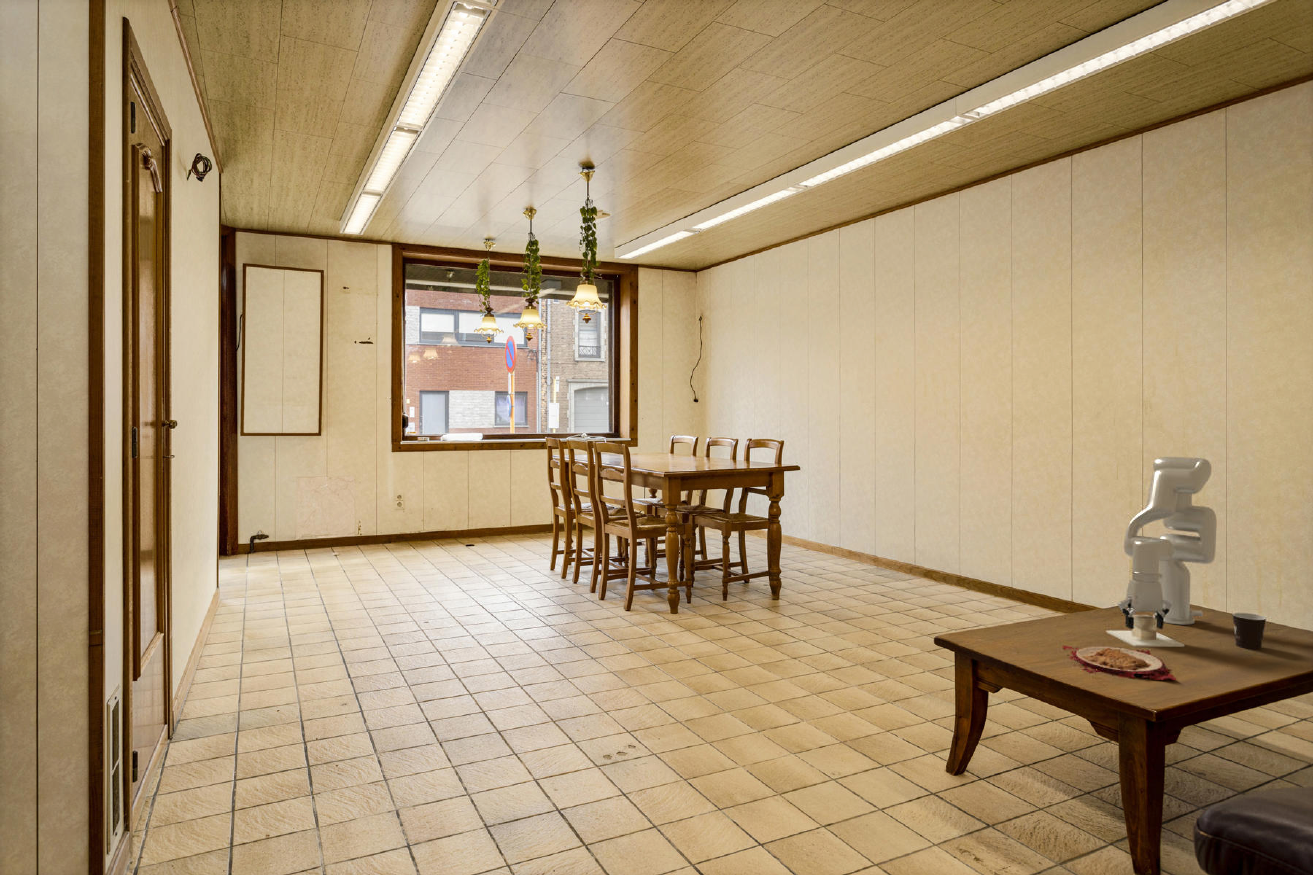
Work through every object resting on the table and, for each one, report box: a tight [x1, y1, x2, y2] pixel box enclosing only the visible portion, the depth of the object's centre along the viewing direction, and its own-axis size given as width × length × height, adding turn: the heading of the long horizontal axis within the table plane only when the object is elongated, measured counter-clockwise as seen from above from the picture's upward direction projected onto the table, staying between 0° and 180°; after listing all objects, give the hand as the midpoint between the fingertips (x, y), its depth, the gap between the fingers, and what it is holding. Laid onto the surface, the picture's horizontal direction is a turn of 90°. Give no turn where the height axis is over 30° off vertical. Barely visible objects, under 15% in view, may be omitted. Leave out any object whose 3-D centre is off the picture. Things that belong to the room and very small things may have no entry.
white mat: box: [1106, 630, 1185, 648], centre depth 258 cm, size 16×16×1 cm
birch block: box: [1131, 614, 1157, 640], centre depth 257 cm, size 5×5×7 cm
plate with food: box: [1062, 645, 1177, 681], centre depth 233 cm, size 25×26×4 cm
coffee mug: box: [1232, 612, 1267, 651], centre depth 250 cm, size 12×9×10 cm
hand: (1144, 627), depth 257 cm, fingers open, 9 cm apart
